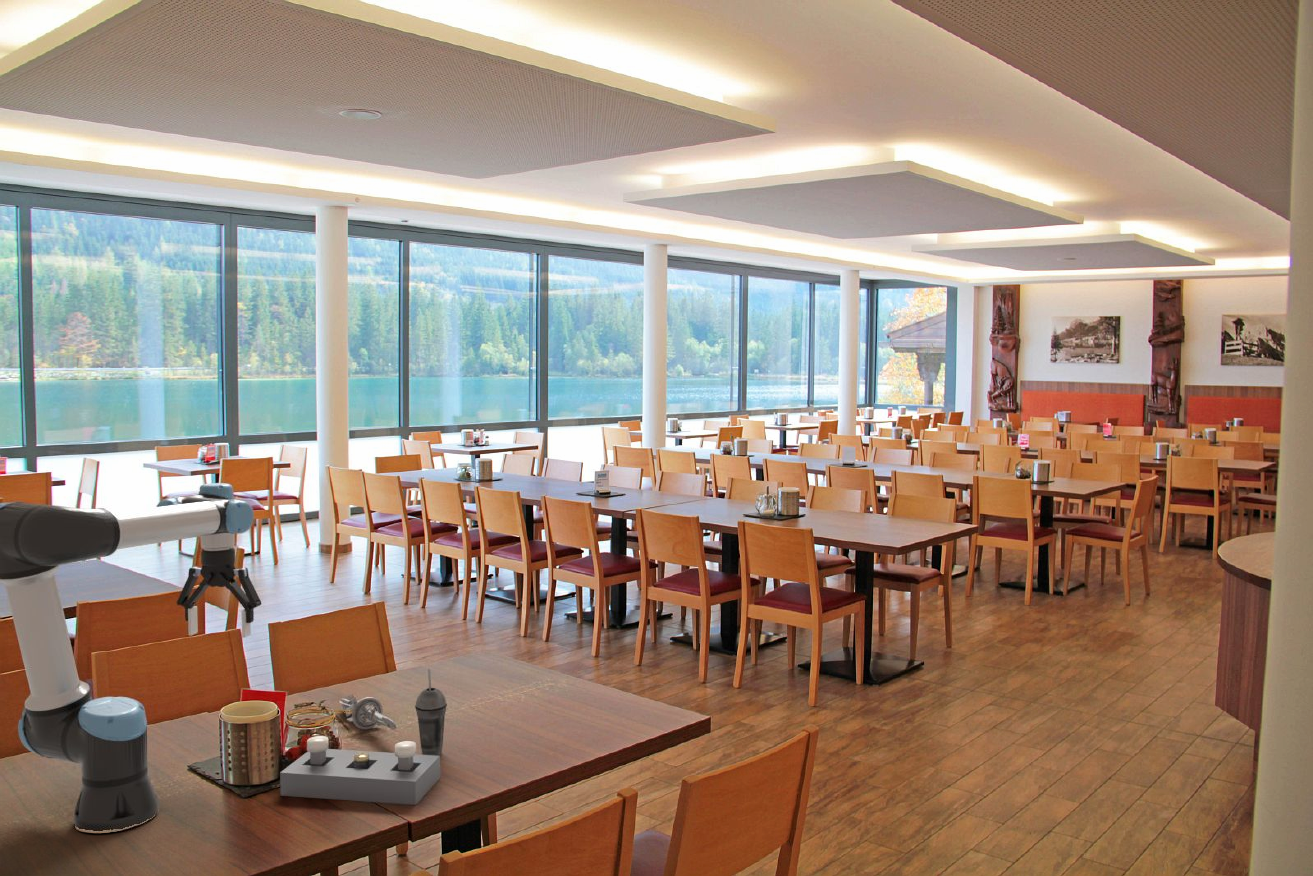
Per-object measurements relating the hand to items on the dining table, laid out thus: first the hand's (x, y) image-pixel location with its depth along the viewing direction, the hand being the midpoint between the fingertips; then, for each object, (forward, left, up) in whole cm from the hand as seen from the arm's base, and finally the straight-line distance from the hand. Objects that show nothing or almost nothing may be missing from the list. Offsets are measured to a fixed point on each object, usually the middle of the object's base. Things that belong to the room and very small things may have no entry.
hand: (219, 635), depth 246 cm
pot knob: (-21, -46, -22) cm, 55 cm away
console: (-21, -46, -26) cm, 56 cm away
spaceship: (+12, -32, -26) cm, 43 cm away
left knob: (-21, -36, -21) cm, 46 cm away
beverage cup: (-1, -54, -26) cm, 60 cm away
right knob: (-21, -56, -21) cm, 63 cm away
